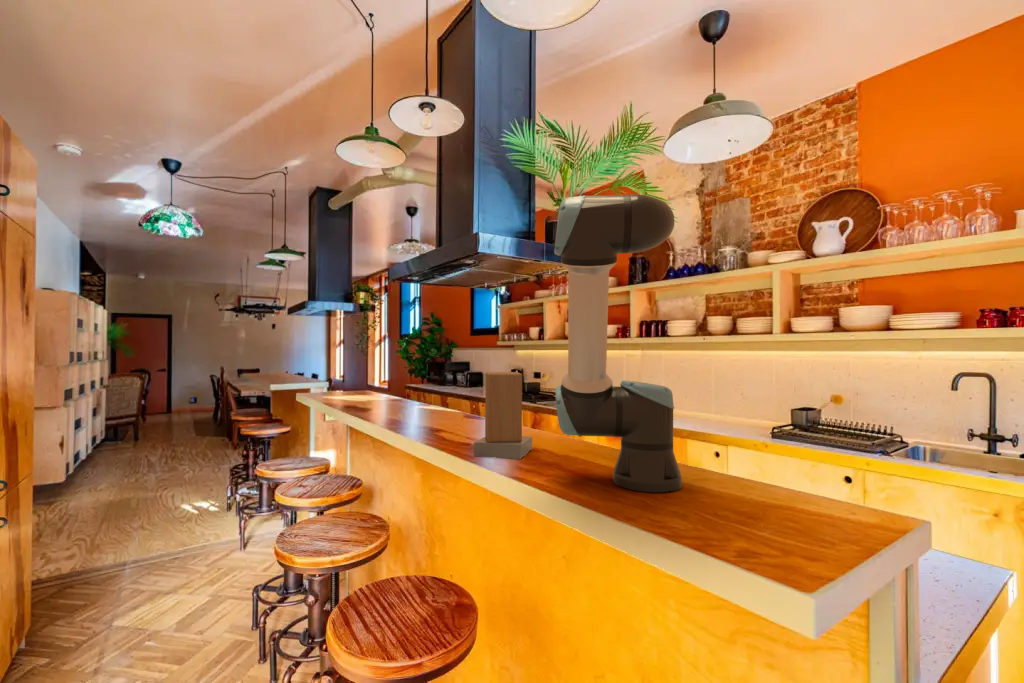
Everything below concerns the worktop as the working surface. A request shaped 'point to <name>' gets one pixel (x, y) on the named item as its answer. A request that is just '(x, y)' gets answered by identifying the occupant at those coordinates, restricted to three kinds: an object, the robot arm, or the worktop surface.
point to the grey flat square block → (503, 448)
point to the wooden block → (503, 407)
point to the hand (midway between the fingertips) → (584, 331)
